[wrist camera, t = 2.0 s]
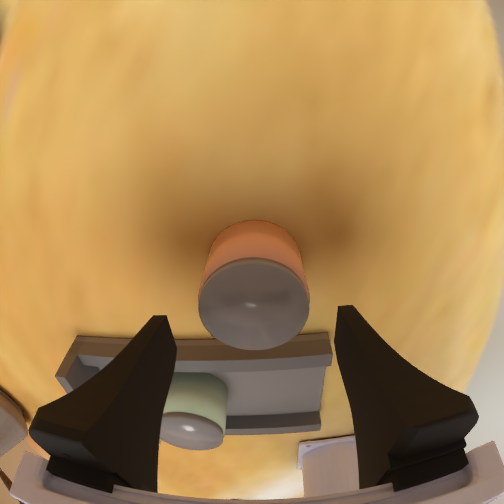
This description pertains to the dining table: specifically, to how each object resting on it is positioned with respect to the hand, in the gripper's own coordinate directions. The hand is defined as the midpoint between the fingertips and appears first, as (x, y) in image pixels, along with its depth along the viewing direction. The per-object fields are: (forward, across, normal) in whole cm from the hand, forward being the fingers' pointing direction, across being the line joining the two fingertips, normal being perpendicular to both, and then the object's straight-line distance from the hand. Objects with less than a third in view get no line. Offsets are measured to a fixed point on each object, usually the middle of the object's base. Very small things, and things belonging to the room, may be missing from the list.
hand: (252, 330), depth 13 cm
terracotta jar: (+6, 0, 0) cm, 6 cm away
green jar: (+5, +6, +11) cm, 13 cm away
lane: (+6, +5, +11) cm, 13 cm away
